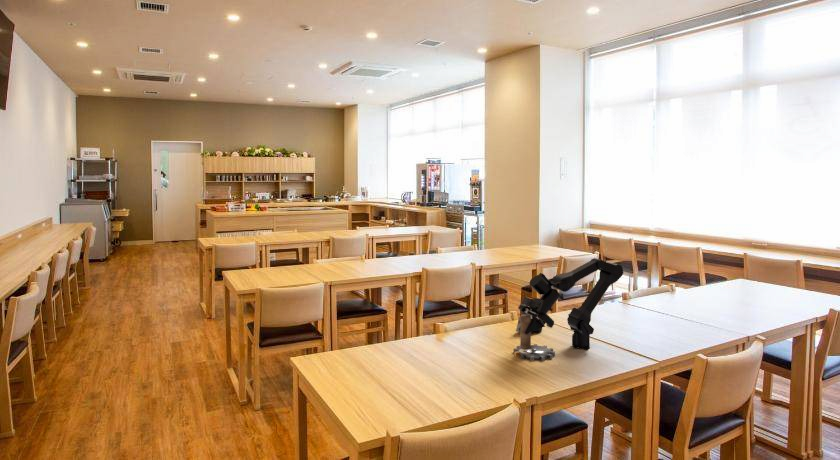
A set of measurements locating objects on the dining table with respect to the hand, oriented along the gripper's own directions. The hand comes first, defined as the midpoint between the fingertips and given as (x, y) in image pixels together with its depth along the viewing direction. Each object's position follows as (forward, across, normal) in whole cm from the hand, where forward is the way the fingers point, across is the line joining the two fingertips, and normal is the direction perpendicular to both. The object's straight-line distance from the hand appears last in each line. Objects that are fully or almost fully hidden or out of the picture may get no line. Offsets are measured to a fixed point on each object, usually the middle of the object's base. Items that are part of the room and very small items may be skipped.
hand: (522, 332), depth 209 cm
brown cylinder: (+4, 0, +6) cm, 7 cm away
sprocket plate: (+3, 0, +10) cm, 11 cm away
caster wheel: (-7, -27, +21) cm, 35 cm away
